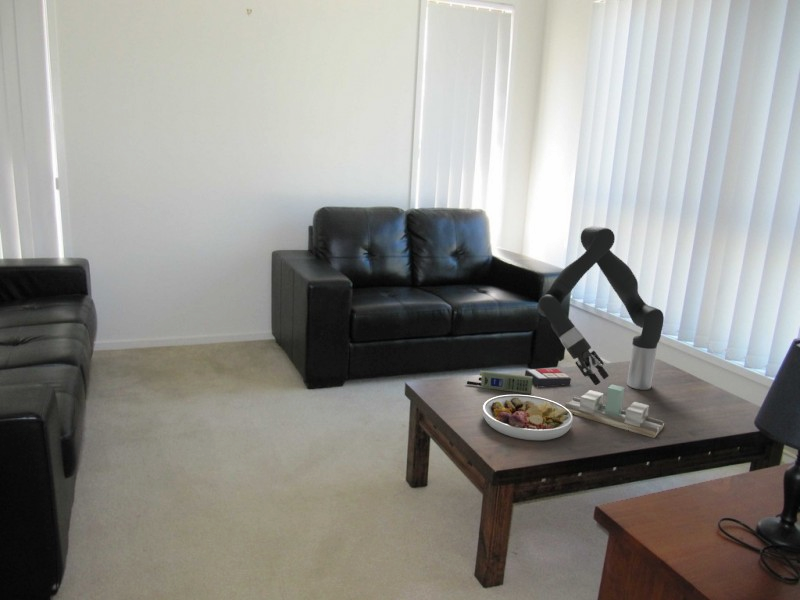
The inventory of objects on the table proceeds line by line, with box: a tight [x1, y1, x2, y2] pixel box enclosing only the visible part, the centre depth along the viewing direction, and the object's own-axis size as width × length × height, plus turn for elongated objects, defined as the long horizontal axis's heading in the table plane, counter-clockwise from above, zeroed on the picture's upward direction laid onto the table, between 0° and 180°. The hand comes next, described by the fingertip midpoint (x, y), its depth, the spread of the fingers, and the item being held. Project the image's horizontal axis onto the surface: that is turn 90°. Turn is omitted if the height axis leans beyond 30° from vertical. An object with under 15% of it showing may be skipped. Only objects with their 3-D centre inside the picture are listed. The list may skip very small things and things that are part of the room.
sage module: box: [604, 383, 625, 417], centre depth 221 cm, size 4×4×10 cm
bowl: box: [482, 394, 574, 441], centre depth 214 cm, size 30×30×8 cm
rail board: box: [564, 389, 665, 439], centre depth 222 cm, size 12×32×7 cm, turn 53°
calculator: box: [524, 368, 572, 388], centre depth 257 cm, size 11×4×15 cm
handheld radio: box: [466, 370, 533, 395], centre depth 246 cm, size 7×3×25 cm
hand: (602, 380), depth 223 cm, fingers open, 8 cm apart
